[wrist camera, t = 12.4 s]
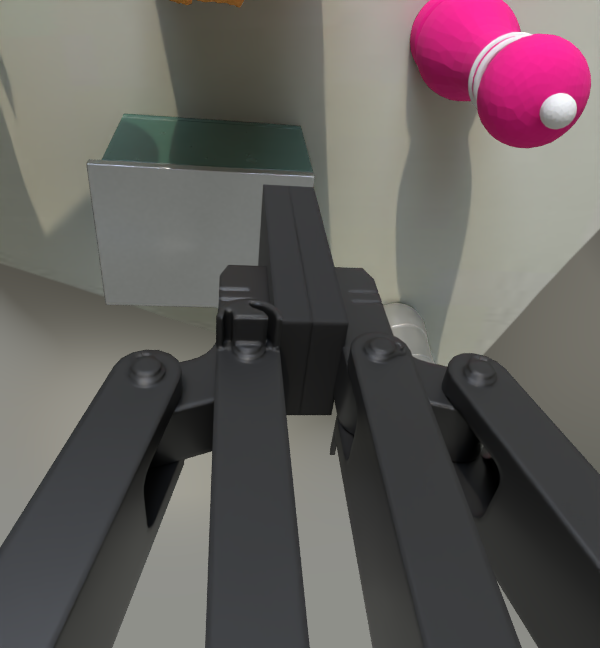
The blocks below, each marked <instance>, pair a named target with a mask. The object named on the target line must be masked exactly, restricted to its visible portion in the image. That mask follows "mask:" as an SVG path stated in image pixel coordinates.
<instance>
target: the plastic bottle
mask: <svg viewBox="0 0 600 648" xmlns="http://www.w3.org/2000/svg"><path fill="white" fill-rule="evenodd" d="M383 307H384V310H385V312H386V315H387V318H388V321H389V324H390V327H391V329H392V332H393V335H394V336H395V337H398V338H399V339H400V340H402V341H403V342H404V343H406V345H407V346H408V348H409V349H410V351H411V353H412V356H413V357H415V358H417V359H420V360H423V361H426V362H429V363H434V364H435V362H434V360H433V357H432V354H431V351H430V347H429V344H428V337H427V331H426V327H425V323H424V321H423V319H422V318H421V316H420V315H419V314H418V312H417V311H416V310H415V309H414V308H412V307H411V306H409V305H406V304H401V303H390V304H386V305H383Z"/></svg>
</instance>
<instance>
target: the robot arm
mask: <svg viewBox="0 0 600 648" xmlns="http://www.w3.org/2000/svg"><path fill="white" fill-rule="evenodd" d="M381 302H382V301H381V298H380V295H379V294H378V290H377V287H376V284H375V281H374V279H373V278H372V277H371V276H370V275H369V274H368V273H367V272H366V271H365V270H364V269H363V268H342V267H334V264H333V260H332V256H331V252H330V248H329V244H328V241H327V237H326V233H325V229H324V225H323V221H322V218H321V214H320V210H319V206H318V202H317V198H316V195H315V191H314V187H301V186H283V185H264V184H263V194H262V210H261V226H260V242H259V258H258V266H249V265H228V266H227V267H226V268H225V269H224V271H223V272H222V273H221V274H220V278H219V304H218V314H217V316H216V343H215V345H214V346H213V348H212V349H211V350H210V351H208V352H207V353H206V354H204V355H202V356H200V357H198V358H195V359H192V360H188V361H184V362H179V361H178V360H177V359H176V358H174V357H173V356H172V355H171V354H169V353H165V352H162V351H159V350H143V351H138V352H133V353H131V354H129V355H127V356H125V357H123V358H121V359H120V360H119V361H118V362H117V364H116V365H115V366H114V367H113V369H112V370H111V372H110V373H109V375H108V377H107V378H106V380H105V382H104V383H103V385H102V386H101V388H100V389H99V391H98V393H97V394H96V396H95V397H94V399H93V401H92V402H91V404H90V405H89V407H88V409H87V410H86V412H85V413H84V415H83V416H82V418H81V420H80V421H79V423H78V425H77V426H76V428H75V429H74V431H73V433H72V434H71V436H70V437H69V439H68V440H67V442H66V444H65V445H64V447H63V448H62V450H61V452H60V453H59V455H58V456H57V458H56V460H55V461H54V463H53V464H52V466H51V468H50V469H49V471H48V472H47V474H46V476H45V477H44V479H43V481H42V482H41V484H40V485H39V487H38V488H37V490H36V492H35V493H34V495H33V496H32V498H31V500H30V501H29V503H28V504H27V506H26V508H25V509H24V511H23V512H22V514H21V516H20V517H19V519H18V520H17V522H16V523H15V525H14V527H13V528H12V530H11V531H10V533H9V535H8V536H7V538H6V539H5V541H4V543H3V544H2V546H1V547H0V648H112V647H113V644H114V641H115V639H116V637H117V634H118V631H119V629H120V626H121V624H122V621H123V619H124V616H125V614H126V611H127V608H128V606H129V603H130V600H131V598H132V596H133V593H134V590H135V588H136V585H137V583H138V580H139V577H140V575H141V573H142V570H143V567H144V565H145V562H146V560H147V557H148V555H149V552H150V550H151V547H152V544H153V542H154V539H155V537H156V534H157V532H158V529H159V527H160V524H161V521H162V519H163V516H164V514H165V511H166V509H167V506H168V503H169V501H170V498H171V496H172V493H173V491H174V488H175V485H176V483H177V480H178V478H179V475H180V473H181V470H182V468H183V465H184V459H187V458H190V457H194V456H196V455H201V454H204V453H207V452H211V451H212V476H211V504H210V532H209V558H208V587H207V613H206V641H205V648H310V647H309V638H308V627H307V618H306V607H305V597H304V587H303V577H302V568H301V557H300V547H299V537H298V527H297V518H296V508H295V497H294V487H293V478H292V468H291V458H290V448H289V438H288V429H287V418H286V415H331V414H332V409H333V403H334V400H335V405H336V410H337V418H336V422H335V427H334V432H333V438H332V442H331V448H330V455H335V451H336V446H337V450H338V456H339V461H340V467H341V473H342V478H343V484H344V489H345V495H346V501H347V506H348V512H349V518H350V523H351V529H352V534H353V540H354V545H355V551H356V557H357V563H358V568H359V574H360V579H361V585H362V591H363V596H364V602H365V608H366V613H367V619H368V624H369V630H370V636H371V641H372V646H373V648H522V647H521V645H520V642H519V639H518V637H517V634H516V631H515V629H514V626H513V623H512V621H511V618H510V615H509V613H508V610H507V607H506V605H505V602H504V599H503V597H502V594H501V592H500V589H499V586H498V584H497V581H498V583H499V585H500V586H501V588H502V590H503V591H504V593H505V594H506V596H507V598H508V599H509V601H510V603H511V604H512V606H513V607H514V609H515V611H516V612H517V614H518V615H519V617H520V619H521V620H522V622H523V623H524V625H525V627H526V628H527V630H528V632H529V633H530V635H531V637H532V638H533V640H534V641H535V643H536V644H537V646H538V648H600V474H599V473H598V472H597V471H596V470H595V469H594V468H593V466H592V465H591V464H590V463H589V462H588V461H587V460H586V459H585V457H584V456H583V455H582V454H581V453H580V452H579V451H578V450H577V449H576V447H575V446H574V445H573V444H572V443H571V442H570V441H569V440H568V439H567V437H566V436H565V435H564V434H563V433H562V432H561V431H560V429H558V427H557V426H556V425H555V424H554V423H553V422H552V420H551V419H550V418H549V417H548V416H547V415H546V414H545V413H544V412H543V410H541V408H540V407H539V406H538V405H537V404H536V403H535V402H534V400H533V399H532V398H531V397H530V396H529V395H528V394H527V392H526V391H525V390H524V389H523V388H522V387H521V386H520V385H519V384H518V382H517V381H516V380H515V379H514V378H513V377H512V376H511V375H510V373H509V372H508V371H507V370H506V369H505V368H504V367H503V366H501V365H500V364H499V363H498V362H496V361H494V360H492V359H490V358H488V357H486V356H483V355H478V354H474V353H465V354H460V355H457V356H454V357H453V358H452V360H451V361H450V362H449V364H448V367H446V366H442V365H438V364H434V363H429V362H426V361H423V360H420V359H417V358H415V357H413V356H412V353H411V351H410V349H409V348H408V346H407V345H406V343H404V342H403V341H402V340H400V339H399V338H398V337H395V336H394V335H393V332H392V329H391V327H390V324H389V321H388V318H387V315H386V312H385V310H384V307H383V304H381Z"/></svg>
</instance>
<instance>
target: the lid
mask: <svg viewBox="0 0 600 648" xmlns="http://www.w3.org/2000/svg"><path fill="white" fill-rule="evenodd" d="M87 171H88V178H89V186H90V193H91V200H92V207H93V215H94V222H95V229H96V236H97V244H98V251H99V258H100V265H101V273H102V280H103V287H104V294H105V302H106V304H108V305H145V306H185V307H218V304H219V278H220V274H221V273H222V272H223V271H224V269H225V268H226V267H227V266H228V265H249V266H258V258H259V242H260V226H261V210H262V194H263V184H264V185H283V186H301V187H314V178H315V177H314V173H313V172H296V171H279V170H261V169H244V168H227V167H210V166H193V165H176V164H158V163H141V162H124V161H107V160H90V159H89V160H88V162H87Z"/></svg>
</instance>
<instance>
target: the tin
mask: <svg viewBox="0 0 600 648" xmlns="http://www.w3.org/2000/svg"><path fill="white" fill-rule="evenodd" d="M102 160H107V161H124V162H141V163H158V164H176V165H193V166H210V167H227V168H244V169H261V170H279V171H296V172H313V170H312V166H311V162H310V159H309V155H308V151H307V148H306V144H305V140H304V137H303V133H302V129H301V126H294V125H280V124H265V123H251V122H237V121H222V120H208V119H194V118H179V117H165V116H151V115H136V114H124V115H123V117H122V119H121V121H120V123H119V125H118V127H117V129H116V131H115V133H114V135H113V137H112V139H111V141H110V143H109V145H108V148H107V150H106V152H105V154H104V156H103V158H102Z"/></svg>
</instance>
